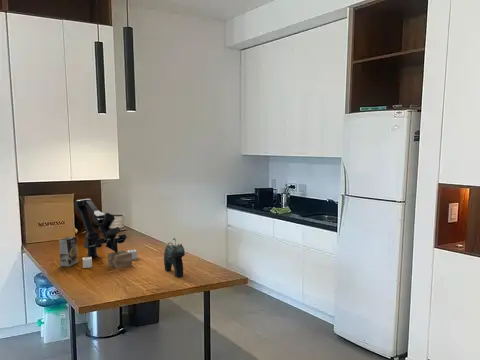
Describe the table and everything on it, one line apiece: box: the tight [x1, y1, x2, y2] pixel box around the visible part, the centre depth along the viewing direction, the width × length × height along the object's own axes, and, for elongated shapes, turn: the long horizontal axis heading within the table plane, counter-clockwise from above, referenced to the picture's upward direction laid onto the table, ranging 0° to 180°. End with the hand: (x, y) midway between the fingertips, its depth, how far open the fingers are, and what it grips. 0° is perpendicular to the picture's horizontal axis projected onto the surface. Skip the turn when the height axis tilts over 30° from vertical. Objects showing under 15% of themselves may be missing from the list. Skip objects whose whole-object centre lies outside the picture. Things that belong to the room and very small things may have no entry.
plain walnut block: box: [107, 250, 133, 270], centre depth 261 cm, size 10×10×8 cm
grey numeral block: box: [127, 249, 138, 261], centre depth 277 cm, size 5×5×5 cm
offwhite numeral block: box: [82, 256, 93, 269], centre depth 261 cm, size 5×5×5 cm
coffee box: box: [58, 236, 79, 267], centre depth 266 cm, size 9×6×16 cm
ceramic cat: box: [163, 238, 186, 279], centre depth 241 cm, size 20×6×20 cm, turn 32°
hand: (116, 251), depth 263 cm, fingers closed
